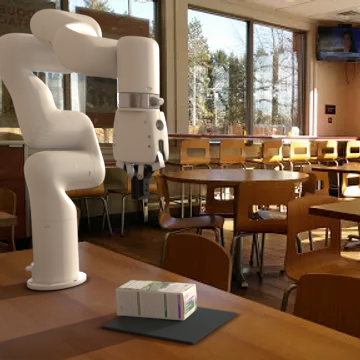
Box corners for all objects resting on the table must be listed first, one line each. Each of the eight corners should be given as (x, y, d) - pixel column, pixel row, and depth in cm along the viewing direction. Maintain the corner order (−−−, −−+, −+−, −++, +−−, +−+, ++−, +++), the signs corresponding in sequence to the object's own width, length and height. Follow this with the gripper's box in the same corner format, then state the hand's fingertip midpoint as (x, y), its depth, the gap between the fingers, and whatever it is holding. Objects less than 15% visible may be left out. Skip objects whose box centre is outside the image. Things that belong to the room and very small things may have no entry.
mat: (101, 327, 92) (101, 325, 92) (154, 302, 106) (154, 300, 106) (192, 344, 85) (192, 342, 85) (236, 314, 99) (236, 312, 99)
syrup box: (115, 316, 97) (184, 322, 94) (114, 287, 96) (183, 293, 93) (132, 305, 102) (197, 311, 100) (131, 277, 102) (196, 283, 99)
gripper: (183, 105, 95) (184, 199, 97) (122, 104, 100) (123, 194, 102) (158, 103, 88) (159, 204, 90) (93, 102, 93) (95, 198, 95)
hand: (140, 198), depth 96 cm, fingers closed
